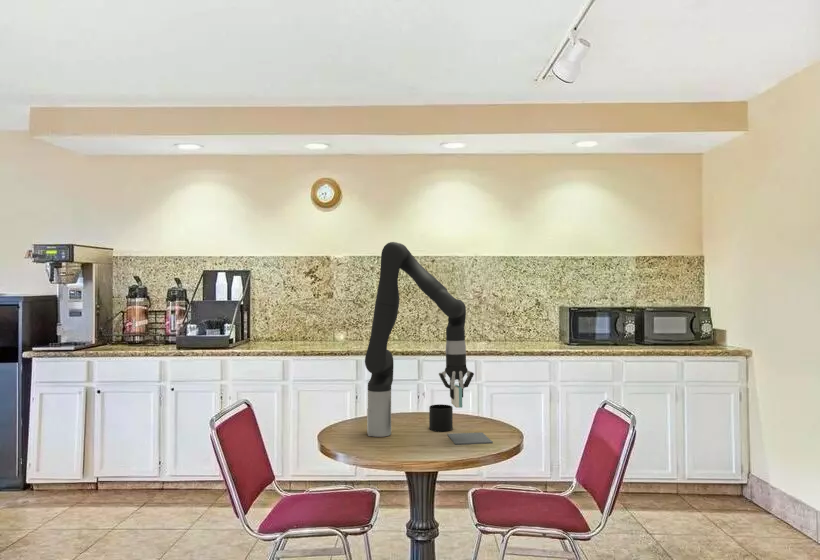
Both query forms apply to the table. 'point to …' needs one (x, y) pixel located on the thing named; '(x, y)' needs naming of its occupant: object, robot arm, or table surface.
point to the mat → (469, 438)
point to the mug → (440, 418)
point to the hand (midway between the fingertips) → (456, 398)
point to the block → (457, 397)
